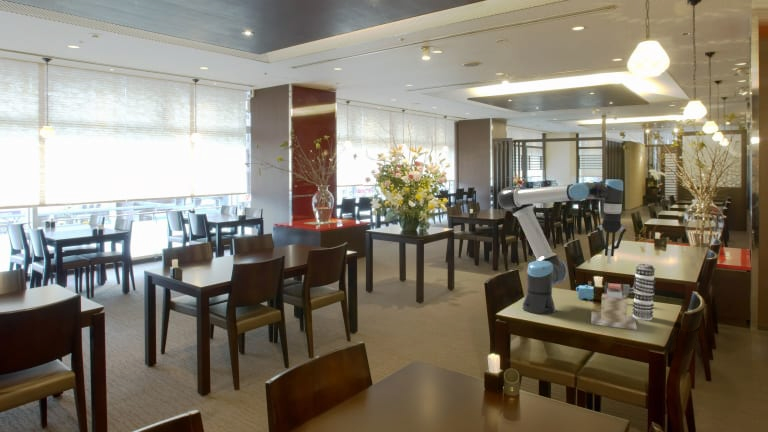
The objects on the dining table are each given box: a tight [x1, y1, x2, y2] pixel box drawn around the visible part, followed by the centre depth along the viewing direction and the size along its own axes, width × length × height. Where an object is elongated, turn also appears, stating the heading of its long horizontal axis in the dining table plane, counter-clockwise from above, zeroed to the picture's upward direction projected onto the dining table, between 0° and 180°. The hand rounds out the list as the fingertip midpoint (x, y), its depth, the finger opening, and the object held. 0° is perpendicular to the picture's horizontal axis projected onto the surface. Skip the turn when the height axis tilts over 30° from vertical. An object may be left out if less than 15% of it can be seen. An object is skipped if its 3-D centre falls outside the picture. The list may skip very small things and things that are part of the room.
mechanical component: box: [619, 283, 635, 299], centre depth 256 cm, size 3×10×10 cm, turn 78°
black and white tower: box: [631, 263, 657, 321], centre depth 232 cm, size 9×9×25 cm
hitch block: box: [590, 282, 637, 330], centre depth 225 cm, size 18×16×16 cm
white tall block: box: [607, 287, 622, 299], centre depth 225 cm, size 6×6×12 cm
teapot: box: [575, 284, 595, 301], centre depth 265 cm, size 12×6×8 cm, turn 67°
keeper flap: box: [607, 282, 621, 289], centre depth 227 cm, size 5×8×1 cm, turn 157°
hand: (608, 262), depth 233 cm, fingers closed
